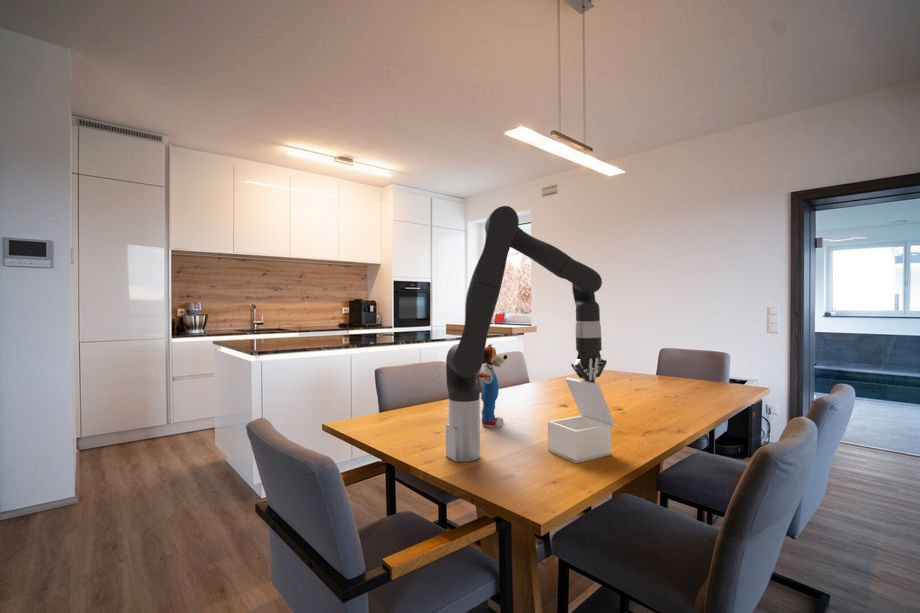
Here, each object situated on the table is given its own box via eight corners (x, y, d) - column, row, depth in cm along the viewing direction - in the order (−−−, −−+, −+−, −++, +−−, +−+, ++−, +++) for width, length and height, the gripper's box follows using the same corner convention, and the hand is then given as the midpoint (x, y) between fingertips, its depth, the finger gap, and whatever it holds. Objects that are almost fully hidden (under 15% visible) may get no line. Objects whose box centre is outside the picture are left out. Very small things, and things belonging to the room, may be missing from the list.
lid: (596, 385, 124) (599, 383, 125) (565, 378, 136) (567, 376, 136) (612, 425, 128) (615, 422, 128) (580, 415, 139) (583, 413, 140)
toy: (502, 439, 143) (502, 349, 143) (472, 437, 145) (472, 348, 145) (511, 413, 176) (511, 340, 176) (486, 412, 178) (486, 340, 178)
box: (575, 463, 121) (575, 431, 121) (548, 450, 132) (548, 421, 132) (611, 454, 128) (611, 424, 128) (581, 443, 139) (581, 415, 139)
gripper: (581, 338, 125) (583, 397, 126) (613, 334, 132) (615, 391, 132) (563, 336, 132) (565, 392, 132) (594, 333, 138) (596, 387, 139)
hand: (590, 391), depth 132 cm, fingers closed
